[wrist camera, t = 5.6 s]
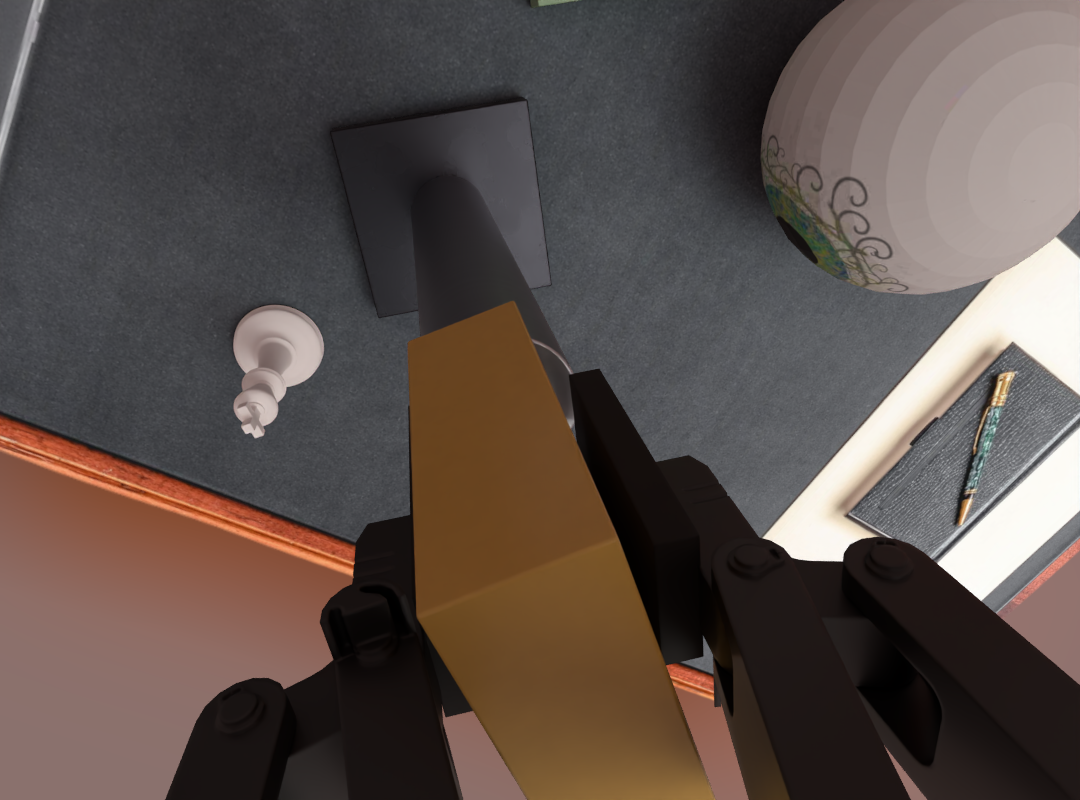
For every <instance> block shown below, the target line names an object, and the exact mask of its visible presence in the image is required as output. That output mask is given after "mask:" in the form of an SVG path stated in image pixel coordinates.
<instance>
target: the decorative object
mask: <svg viewBox="0 0 1080 800" xmlns="http://www.w3.org/2000/svg"><path fill="white" fill-rule="evenodd" d="M761 167H762V176H763V185H764V188H765V191H766V194H767V197H768V200H769V203H770V206H771V209H772V211H773V213H774V215H775V217H776V219H777V220H778V222H779V224H780V225H781V227H782V229H783V230H784V232H785V234H786V236H787V237H788V239H789V240H790V241H791V242H792V243H793V244H794V245H795V246H796V247H797V248H798V249H799V250H800V251H801V252H802V254H803V255H804V256H806V257H807V258H808V259H809V260H810V261H812V262H813V263H814V264H815V265H817V266H818V267H820V268H821V269H823V270H824V271H826V272H828V273H829V274H831V275H833V276H834V277H836V278H837V279H840V280H843V281H846V282H849V283H852V284H854V285H857V286H861V287H864V288H867V289H870V290H873V291H877V292H887V293H900V294H929V293H936V292H944V291H949V290H953V289H957V288H961V287H965V286H969V285H972V284H975V283H978V282H981V281H984V280H987V279H990V278H992V277H994V276H996V275H998V274H1000V273H1002V272H1004V271H1006V270H1008V269H1010V268H1012V267H1014V266H1015V265H1017V264H1019V263H1020V262H1022V261H1023V260H1025V259H1026V258H1028V257H1030V256H1031V255H1032V254H1034V253H1035V252H1037V251H1038V250H1039V249H1041V248H1042V247H1043V246H1045V245H1046V244H1048V243H1049V242H1050V241H1051V240H1052V239H1053V238H1054V237H1056V236H1057V235H1058V234H1059V233H1060V232H1061V231H1062V230H1063V229H1064V228H1065V227H1066V226H1067V225H1068V224H1069V223H1070V222H1071V221H1072V219H1073V218H1074V217H1075V216H1076V215H1077V213H1078V212H1079V211H1080V0H845V1H843V2H842V3H841V4H840V5H838V6H837V7H836V8H835V9H833V10H832V11H831V12H830V13H829V14H827V15H826V16H825V17H824V18H823V19H821V20H820V21H819V22H818V23H817V24H816V26H815V27H814V28H813V29H812V30H811V31H810V33H809V34H808V35H807V36H806V37H805V38H804V39H803V41H802V42H801V43H800V44H799V45H798V47H797V48H796V50H795V52H794V53H793V55H792V57H791V58H790V60H789V61H788V63H787V65H786V66H785V68H784V69H783V71H782V73H781V75H780V78H779V80H778V82H777V85H776V87H775V89H774V92H773V94H772V96H771V99H770V101H769V105H768V110H767V114H766V118H765V122H764V126H763V130H762V144H761Z"/></svg>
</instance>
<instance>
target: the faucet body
mask: <svg viewBox="0 0 1080 800" xmlns="http://www.w3.org/2000/svg"><path fill="white" fill-rule="evenodd" d="M330 134H331V137H332V141H333V145H334V149H335V153H336V157H337V161H338V164H339V168H340V172H341V176H342V180H343V184H344V188H345V191H346V195H347V199H348V203H349V207H350V211H351V215H352V218H353V222H354V226H355V230H356V234H357V238H358V242H359V245H360V249H361V253H362V257H363V261H364V265H365V269H366V272H367V276H368V280H369V284H370V288H371V292H372V296H373V299H374V303H375V307H376V311H377V315H378V318H382V317H387V316H392V315H397V314H403V313H408V312H413V311H418V312H419V325H420V337H421V336H424V335H426V334H429V333H432V332H434V331H437V330H439V329H442V328H444V327H447V326H449V325H452V324H454V323H457V322H460V321H462V320H465V319H467V318H470V317H472V316H475V315H477V314H480V313H482V312H485V311H487V310H490V309H493V308H495V307H498V306H500V305H503V304H505V303H508V302H510V301H514V302H515V303H516V305H517V307H518V310H519V312H520V314H521V316H522V319H523V321H524V323H525V326H526V328H527V330H528V332H529V335H530V337H531V339H532V342H533V344H534V346H535V348H536V351H537V353H538V355H539V358H540V360H541V362H542V364H543V367H544V369H545V371H546V373H547V376H548V378H549V380H550V383H551V385H552V387H553V389H554V392H555V394H556V396H557V399H558V401H559V403H560V405H561V408H562V410H563V412H564V415H565V417H566V419H567V421H568V424H569V426H570V428H571V429H572V427H573V425H574V414H573V406H572V398H571V390H570V382H569V374H574V373H573V371H572V369H571V367H570V365H569V363H568V361H567V359H566V357H565V355H564V353H563V351H562V350H561V348H560V346H559V344H558V342H557V340H556V338H555V336H554V334H553V332H552V330H551V328H550V326H549V325H548V323H547V321H546V319H545V317H544V315H543V313H542V311H541V309H540V307H539V305H538V303H537V301H536V299H535V298H534V296H533V294H532V292H531V290H530V289H535V288H540V287H546V286H551V285H552V283H551V276H550V268H549V261H548V253H547V246H546V238H545V230H544V223H543V215H542V208H541V200H540V192H539V185H538V177H537V170H536V162H535V154H534V147H533V139H532V132H531V124H530V117H529V109H528V101H527V99H525V98H523V97H520V98H514V99H508V100H502V101H496V102H489V103H483V104H477V105H471V106H465V107H459V108H453V109H447V110H441V111H434V112H428V113H422V114H416V115H410V116H404V117H398V118H392V119H385V120H379V121H373V122H367V123H361V124H355V125H349V126H343V127H336V128H333V129H332V130H331V132H330Z"/></svg>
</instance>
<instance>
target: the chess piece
mask: <svg viewBox="0 0 1080 800" xmlns="http://www.w3.org/2000/svg"><path fill="white" fill-rule="evenodd" d="M233 349H234V354H235V357H236V360H237V362H238V364H239V365H240V367H241V368H242V369H243V371H244V372H245V373H246V375H245V376H244V378H243V380H242V390H243V391H242V392H241V393H240V394H239V395H238V396H237V397H236V399H235V401H234V412H235V414H236V416H237V417H238V418H239V419H240V420H241V421H242V422H243V423H242V426H241V427H242V429H243V430H244V432H245V434H248V433H252V434H253V436H254V438H258V437H260V436H263V435H264V433H265V429H264V428H263V426H265V425H267V424H269V423H271V422H272V421H273V420H274V419H275V418H276V416H277V413H278V403H277V402H279V401H280V400H281V399H282V398H283V397H284V395H285V392H286V387H289V386H294V385H297V384H299V383H302V382H303V381H305V380H307V379H308V378H309V377H310V376H311V375H312V374H313V373H314V372H315V371H316V369H317V368H318V366H319V365H320V363H321V360H322V358H323V353H324V343H323V338H322V335H321V333H320V331H319V329H318V327H317V326H316V324H315V323H314V322H313V321H312V320H311V319H310V318H309V317H308V316H307V315H305V314H304V313H302V312H301V311H299V310H297V309H294V308H291V307H288V306H283V305H267V306H262V307H259V308H257V309H254V310H253V311H251V312H249V313H248V314H247V315H245V316H244V317H243V318H242V320H241V321H240V322H239V324H238V326H237V328H236V330H235V334H234V341H233Z"/></svg>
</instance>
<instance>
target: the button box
mask: <svg viewBox="0 0 1080 800" xmlns="http://www.w3.org/2000/svg"><path fill="white" fill-rule="evenodd" d="M574 1H581V0H530V3H531V8H535V7H541V6H548V5H555V4H561V3H568V2H574Z"/></svg>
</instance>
